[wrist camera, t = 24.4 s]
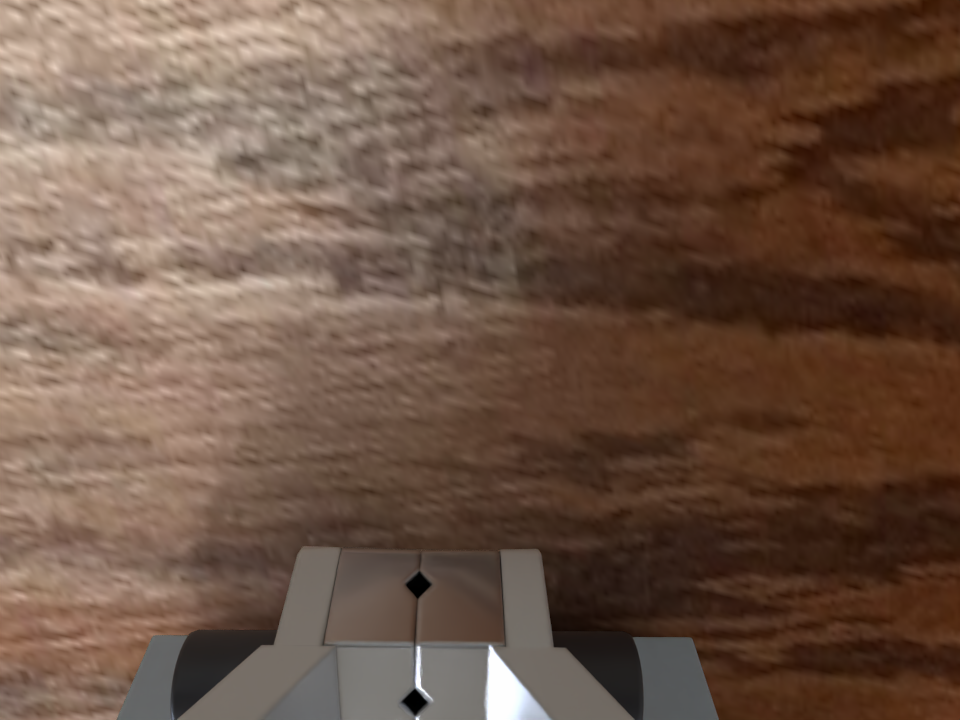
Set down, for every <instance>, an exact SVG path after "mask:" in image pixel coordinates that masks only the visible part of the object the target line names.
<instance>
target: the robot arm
mask: <svg viewBox="0 0 960 720" xmlns="http://www.w3.org/2000/svg"><path fill="white" fill-rule="evenodd" d="M177 720H635V719H634V718H633V717H632V716H631V715H630V714H629V713H628V712H627V711H626V710H625V709H624V708H623V707H622V706H621V705H620V704H619V703H618V702H617V700H616V699H615V698H614V697H613V696H612V695H611V694H610V693H609V692H608V691H607V690H606V689H605V688H604V687H603V686H602V685H601V684H600V683H599V682H598V681H597V680H596V679H595V678H594V677H593V675H592V674H591V673H590V672H589V671H588V670H587V669H586V668H585V667H584V666H583V665H582V664H581V663H580V662H579V661H578V660H577V659H576V658H575V657H574V656H573V655H572V654H571V653H570V651H569V650H568V649H567V648H555V647H554V645H553V637H552V630H551V622H550V615H549V607H548V599H547V592H546V584H545V577H544V569H543V562H542V554H541V553H540V551H539V550H538V549H500V550H499V551H498V550H421V549H392V548H364V547H343V548H340V547H315V546H303V547H302V548H301V550H300V551H299V553H298V554H297V558H296V562H295V565H294V569H293V573H292V577H291V581H290V584H289V588H288V592H287V596H286V600H285V603H284V607H283V611H282V615H281V619H280V623H279V626H278V630H277V634H276V638H275V642H274V645H261V646H260V647H259V648H258V649H256V650H255V651H254V652H253V653H252V654H251V655H250V656H248V657H247V658H246V659H245V660H244V661H243V662H242V663H241V664H239V665H238V666H237V667H236V668H235V669H234V670H233V671H231V672H230V673H229V674H228V675H227V676H226V677H225V678H224V679H222V680H221V681H220V682H219V683H218V684H217V685H216V686H214V687H213V688H212V689H211V690H210V691H209V692H208V693H206V694H205V695H204V696H203V697H202V698H201V699H200V700H199V701H197V702H196V703H195V704H194V705H193V706H192V707H191V708H189V709H188V710H187V711H186V712H185V713H184V714H183V715H181V716H180V717H179V718H178V719H177Z"/></svg>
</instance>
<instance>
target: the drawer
mask: <svg viewBox="0 0 960 720" xmlns="http://www.w3.org/2000/svg"><path fill="white" fill-rule="evenodd" d="M276 634H277V630H197V631H194V632H192V633H190V634H189V635H155V636H153V637H152V639H151V641H150V643H149V646H148V648H147V650H146V653H145V655H144V657H143V660H142V662H141V664H140V666H139V669H138V671H137V673H136V676H135V678H134V680H133V683H132V685H131V687H130V690H129V692H128V694H127V697H126V699H125V701H124V704H123V706H122V708H121V710H120V713H119V715H118V717H117V720H177V719H178V718H179V717H180V716H181V715H183V714H184V713H185V712H186V711H187V710H188V709H189V708H191V707H192V706H193V705H194V704H195V703H196V702H197V701H199V700H200V699H201V698H202V697H203V696H204V695H205V694H206V693H208V692H209V691H210V690H211V689H212V688H213V687H214V686H216V685H217V684H218V683H219V682H220V681H221V680H222V679H224V678H225V677H226V676H227V675H228V674H229V673H230V672H231V671H233V670H234V669H235V668H236V667H237V666H238V665H239V664H241V663H242V662H243V661H244V660H245V659H246V658H247V657H248V656H250V655H251V654H252V653H253V652H254V651H255V650H256V649H258V648H259V647H260V646H261V645H274V642H275V638H276ZM552 637H553V645H554V647H555V648H567V649H568V650H569V651H570V653H571V654H572V655H573V656H574V657H575V658H576V659H577V660H578V661H579V662H580V663H581V664H582V665H583V666H584V667H585V668H586V669H587V670H588V671H589V672H590V673H591V674H592V675H593V677H594V678H595V679H596V680H597V681H598V682H599V683H600V684H601V685H602V686H603V687H604V688H605V689H606V690H607V691H608V692H609V693H610V694H611V695H612V696H613V697H614V698H615V699H616V700H617V702H618V703H619V704H620V705H621V706H622V707H623V708H624V709H625V710H626V711H627V712H628V713H629V714H630V715H631V716H632V717H633V718H634V719H635V720H719V718H718V715H717V712H716V709H715V706H714V703H713V700H712V697H711V694H710V691H709V688H708V685H707V682H706V679H705V676H704V673H703V670H702V667H701V663H700V660H699V657H698V654H697V651H696V648H695V645H694V642H693V639H692V638H690V637H632V636H631V635H630V634H628V633H626V632H624V631H552Z"/></svg>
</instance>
